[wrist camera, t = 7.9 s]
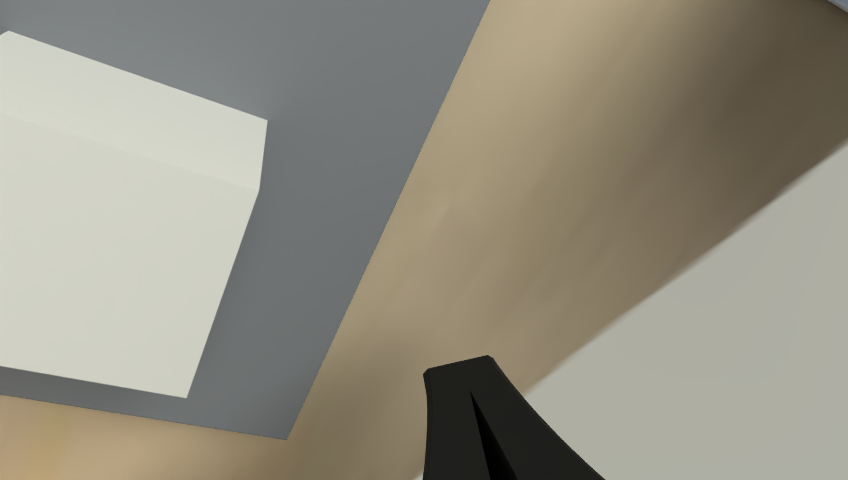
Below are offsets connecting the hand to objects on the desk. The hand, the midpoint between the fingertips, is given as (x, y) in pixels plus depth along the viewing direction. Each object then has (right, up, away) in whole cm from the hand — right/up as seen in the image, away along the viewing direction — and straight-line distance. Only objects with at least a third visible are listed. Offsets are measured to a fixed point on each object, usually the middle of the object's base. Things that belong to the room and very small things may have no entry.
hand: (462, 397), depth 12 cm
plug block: (-8, +4, +1) cm, 9 cm away
